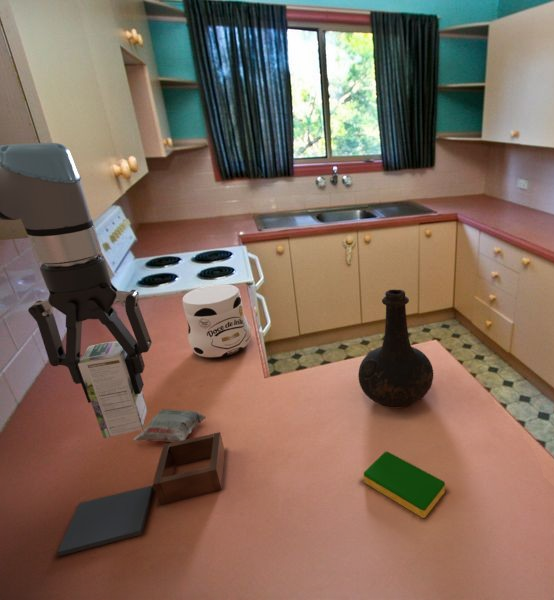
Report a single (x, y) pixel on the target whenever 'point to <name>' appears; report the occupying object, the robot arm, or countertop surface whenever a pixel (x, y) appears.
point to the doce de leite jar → (216, 321)
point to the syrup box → (112, 390)
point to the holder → (192, 481)
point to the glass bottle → (395, 361)
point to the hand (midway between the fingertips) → (116, 393)
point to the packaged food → (170, 426)
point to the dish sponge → (405, 483)
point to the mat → (107, 520)
